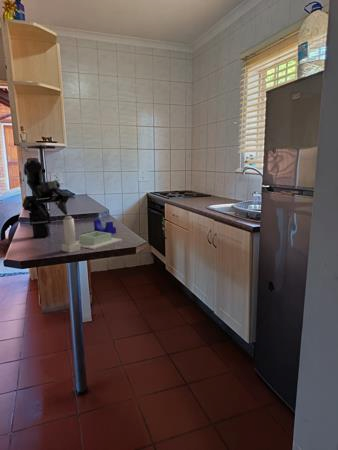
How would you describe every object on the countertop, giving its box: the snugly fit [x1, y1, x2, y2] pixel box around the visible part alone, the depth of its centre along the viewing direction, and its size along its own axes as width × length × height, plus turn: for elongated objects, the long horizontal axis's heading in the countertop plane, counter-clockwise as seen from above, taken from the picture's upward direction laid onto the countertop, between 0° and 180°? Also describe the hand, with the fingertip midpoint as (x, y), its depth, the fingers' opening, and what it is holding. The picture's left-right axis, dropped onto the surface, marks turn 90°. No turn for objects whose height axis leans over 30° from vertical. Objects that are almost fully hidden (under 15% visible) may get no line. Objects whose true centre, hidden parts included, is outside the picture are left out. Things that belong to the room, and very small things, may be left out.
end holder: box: [76, 230, 123, 250], centre depth 131 cm, size 16×16×4 cm
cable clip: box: [93, 218, 117, 235], centre depth 151 cm, size 12×4×6 cm, turn 46°
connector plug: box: [61, 215, 81, 253], centre depth 120 cm, size 5×5×14 cm
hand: (56, 216), depth 123 cm, fingers open, 9 cm apart
